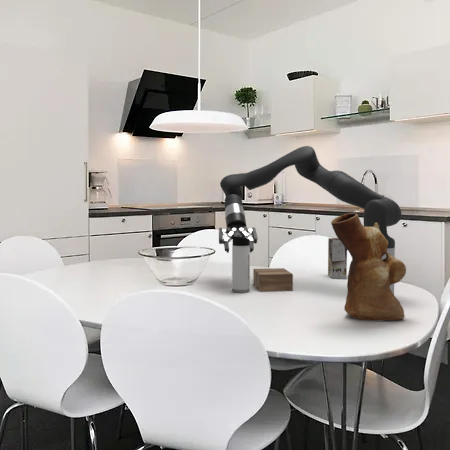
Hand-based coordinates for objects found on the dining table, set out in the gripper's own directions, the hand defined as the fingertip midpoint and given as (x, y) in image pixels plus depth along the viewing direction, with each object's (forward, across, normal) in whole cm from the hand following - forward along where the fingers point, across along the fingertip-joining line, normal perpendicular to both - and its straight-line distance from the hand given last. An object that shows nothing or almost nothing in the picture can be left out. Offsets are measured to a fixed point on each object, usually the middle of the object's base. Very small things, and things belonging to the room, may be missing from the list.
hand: (239, 251), depth 188 cm
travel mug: (+12, 0, +9) cm, 15 cm away
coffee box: (-6, +45, +27) cm, 53 cm away
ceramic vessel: (+42, +30, -21) cm, 55 cm away
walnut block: (+8, +13, +13) cm, 20 cm away
